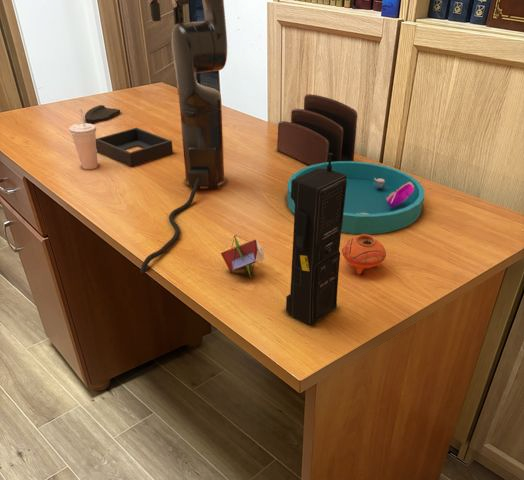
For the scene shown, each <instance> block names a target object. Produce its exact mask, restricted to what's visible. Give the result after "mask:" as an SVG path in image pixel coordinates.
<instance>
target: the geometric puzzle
mask: <svg viewBox="0 0 524 480" xmlns="http://www.w3.org/2000/svg"><path fill="white" fill-rule="evenodd" d="M233 238H234V239H233ZM233 238H231V239H230V241H232V244H231V248H230V249H228V250H225V251H222V252H220V254H221V257H222V259H223V261H224V263H225V265H226V267H227V269H228V271H229V273H233V274H235V272H236V271H237V270H240V269H242V268H246V271H247V272H248V277H249V278H251V277H252V275H253V273H255V271H256V270H255V271H253V270H254V267H255V264H256V263H258V262H260V264H259V265H261V264H262V262H263V261H264V260H265V251H264V247H263V246H262V245H261V244H260V243H259V241H258V240H257V239H255V238H254V239H252V240H251V241H248V240H246V239H247V237H245V236H244V237H241V239H242V240H244V241H247V242H245V243H242V244H240V243H239V241H238V239H237V238H239V236H238V234H237V235H236V234H234V236H233ZM245 238H246V239H245ZM229 243H230V242H229ZM229 243H227V245H228V244H229ZM234 243H235V246H234ZM233 246H234V247H233ZM225 248H227V246H225ZM225 248H224V249H225ZM252 264H253V267H252V271H251V269H250V265H252ZM258 268H259V266H257V268H256V269H258ZM234 271H235V272H234ZM239 274H240V276H241V275H242V276H245V277H247V274H244V273H241V272H239V271H238V272H236V275H239Z"/></svg>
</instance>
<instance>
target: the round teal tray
mask: <svg viewBox="0 0 524 480" xmlns="http://www.w3.org/2000/svg"><path fill="white" fill-rule="evenodd" d="M328 164H329V162H326V163H320V164H315V165H311V166H310V165H307V166H306V167H303V168H301V169H298V170H297V171H296V172H294V173H293V174H291V176H290V178H289V179H288V181H287V191H286V203H287V207H288V209H289V210H290V211H291V212H292V214H293V215H294V214H295V203H294V201H293V200H292V199H291V182H292V180H293V179H295V178H297V177H299V176H302V175H304V174H306V173H308V172H310V171H313V170H315V169H317V168H325V169H327V165H328ZM331 166H332V170H333V171H336V172H339V173H342V174H345V175H346V176H347V178H346V180H347V186H346V195H345V204H344V213H343V222H342V229H341V233H343V234H351V235H360V234H369V235H375V234H383V233H391V232H394V231H397V230H401V229H404V228H407V227H408V226H410V225H412V224H414V223H415V222H416V221H417V219H418V218H419V217H420V216H421V214H422V210H423V205H424V201H425V189H424V187H423V185H422V183H421V182H420V181H419V180H418V179H416V178H414V177H413V176H412V175H410V174H408V173H406V172H404V171H402V170H400V169H397V168H393V167H391V166H387V165H382V164H378V163H374V162H373V163H372V162H366V161H355V160H354V161H336V162H331Z"/></svg>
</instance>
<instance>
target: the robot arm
mask: <svg viewBox="0 0 524 480" xmlns="http://www.w3.org/2000/svg"><path fill="white" fill-rule="evenodd" d="M170 1H171V4H172V6H173V9H172V10H173V21H174V25H173V27H172V30H171V50H172V59H173V64H174V72H175V73H174V74H175V80H176V89H177V96H178V101H179V102H178V104H179V114H180V126H181V137H182V138H181V139H182V149H183V161H184V162H183V163H184V173H185V184H186V185H187V186H188V187H190V189H191V192H190V195H189V198H188V200H187V201H186V202H185V203H184V204H183V205H181V206H179V207H177V208H175V209H173V210H172V211H171V212H170V213H169V215H168V216H169V217H168V220H169V222H170V224H171V225H172V227H173V228H174V235H173V236H172V237H171V238H170V239H169V241H167V242H166V243H165V244H164V245H163V246H162V247H160V248H159V250H156V251H155V252H152V253H150V254H149V255H148V256H147V257H146V258H145V259H144V261H143V263H142V265H141V267H140V270H139V271H140V274H144V273H146V271H147V267H148V266H149V264H150V262H151V261H152V260H154V259H155V258H157V257H160V256H161V255H163V254H164V253H165V252H166V251H167V250H168V249H169V248H170V247H172V246H173V244H175V243H176V242H177V240H178V239H179V236H180V234H181V231H180V230H181V229H180V227H179V225H178V223H177V222H176V221H175V219H174V218H175V216H176V215H177V214H179V213H181V212H183V211H185V210H186V209H187V208H189V207H190V206H191V204H192V203H193V201H194V198H195V197H196V193H197V190H218V189H219V187H221V186H223V185H224V184H225V182H226V177H225V162H224V138H223V137H224V135H223V134H224V133H223V108H222V95H221V92H220V91H219V90H217V89H215V88H212V87H209V86H206V85H202V84H201V83H198V81H197V78H196V74H201V73H202V74H203V73H211V72H219V71H222V70H223V69H224V68H225V66H226V64H227V58H228V35H227V23H226V12H225V1H224V0H201V3H202V8H203V15H204V16H203V17H204V20H202V21H188V22H187V21H186V22H184V21H185V19H184V6H185V5H189V4H190V0H170ZM147 2H148V3H149V6H150V7H149V8H150V16H151V20H152V21H153V22H160V21H161V20H162V17H161V7H160V0H147Z"/></svg>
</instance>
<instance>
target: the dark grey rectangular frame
mask: <svg viewBox="0 0 524 480" xmlns="http://www.w3.org/2000/svg"><path fill="white" fill-rule="evenodd" d="M135 147H140V149H137V150H134V151H128V150H129V149H132V148H135ZM173 149H174V148H173V141H172V140H171V139H169V138H165V137H162V136H160V135H157V134H154V133H152V132H149V131H147V130H144V129H141V128H138V127H134V128H130V129H126V130H123V131H119V132H116V133H111V134H108V135H105V136H100V137H98V138H97V137H96V150H97V154H98V153H99V154H101V155H103V156H106V157H108V158H110V159H112V160H115V161H116V162H119V163H120V164H123V165H126V166H128V167H130V168H134V167H137V166H140V165H143V164H146V163H148V162H151V161H155V160H159V159H160V158H164V157H167V156H170V155H173V154H174V150H173Z"/></svg>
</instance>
